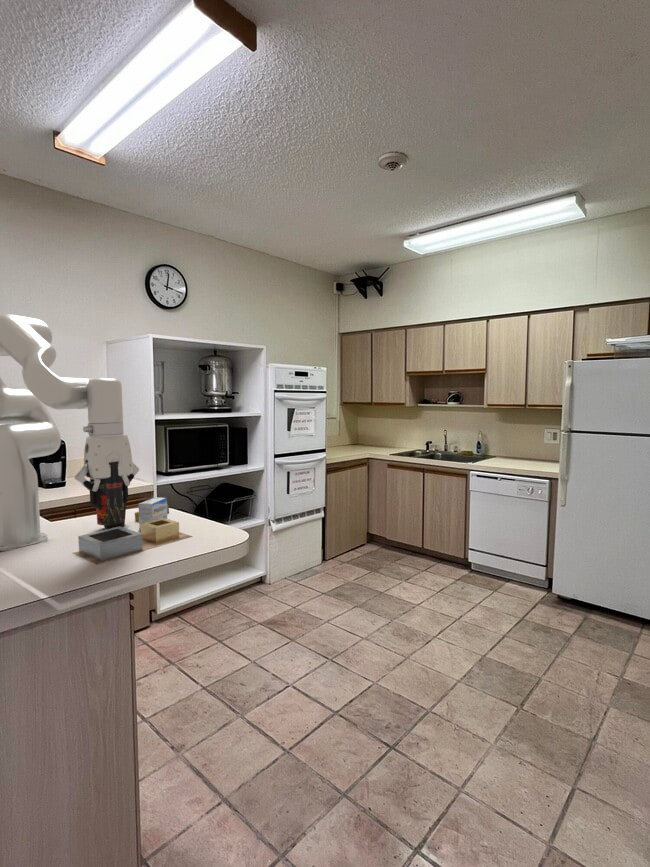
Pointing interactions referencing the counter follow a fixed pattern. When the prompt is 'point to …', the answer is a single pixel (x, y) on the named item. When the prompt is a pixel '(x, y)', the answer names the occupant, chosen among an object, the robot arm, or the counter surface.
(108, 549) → the grey open tray
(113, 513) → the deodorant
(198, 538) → the counter surface
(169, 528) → the tan wooden open box
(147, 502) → the medicine box
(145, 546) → the fitting board
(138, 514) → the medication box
